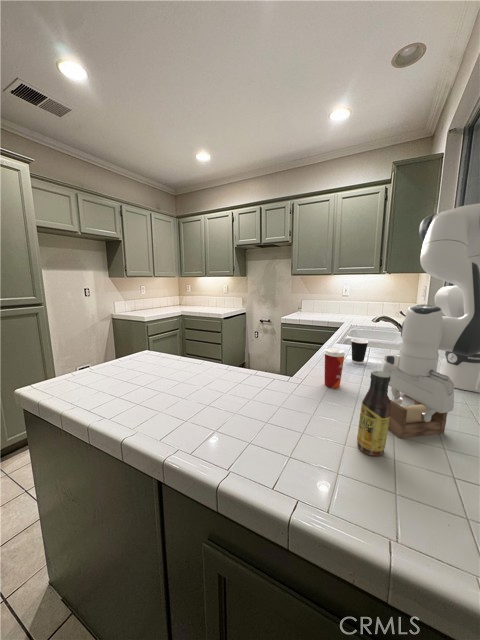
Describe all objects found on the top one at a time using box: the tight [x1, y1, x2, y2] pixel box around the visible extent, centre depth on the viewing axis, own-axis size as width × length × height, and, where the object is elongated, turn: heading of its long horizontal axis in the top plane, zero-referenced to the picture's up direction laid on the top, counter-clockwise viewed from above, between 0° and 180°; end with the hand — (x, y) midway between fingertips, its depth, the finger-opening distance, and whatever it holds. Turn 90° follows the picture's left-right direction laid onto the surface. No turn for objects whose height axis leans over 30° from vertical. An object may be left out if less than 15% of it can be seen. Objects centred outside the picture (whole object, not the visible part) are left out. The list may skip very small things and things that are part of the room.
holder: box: [388, 399, 448, 440], centre depth 75 cm, size 14×9×8 cm, turn 102°
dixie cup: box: [350, 338, 369, 365], centre depth 130 cm, size 8×8×11 cm
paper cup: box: [323, 347, 346, 389], centre depth 102 cm, size 8×8×14 cm
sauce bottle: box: [356, 370, 391, 457], centre depth 63 cm, size 6×6×20 cm
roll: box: [402, 404, 430, 425], centre depth 75 cm, size 9×5×5 cm, turn 102°
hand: (410, 411), depth 75 cm, fingers open, 8 cm apart
